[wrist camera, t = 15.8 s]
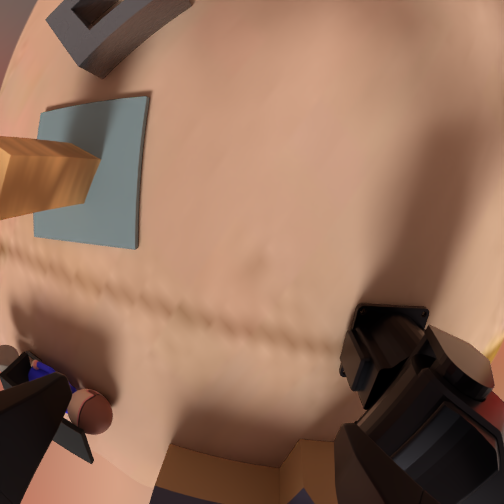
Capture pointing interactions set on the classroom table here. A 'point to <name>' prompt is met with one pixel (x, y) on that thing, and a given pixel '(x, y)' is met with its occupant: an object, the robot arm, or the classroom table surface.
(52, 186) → the peg
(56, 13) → the socket block
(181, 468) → the toy building blocks
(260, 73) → the classroom table surface
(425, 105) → the classroom table surface
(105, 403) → the figurine character
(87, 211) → the pad
